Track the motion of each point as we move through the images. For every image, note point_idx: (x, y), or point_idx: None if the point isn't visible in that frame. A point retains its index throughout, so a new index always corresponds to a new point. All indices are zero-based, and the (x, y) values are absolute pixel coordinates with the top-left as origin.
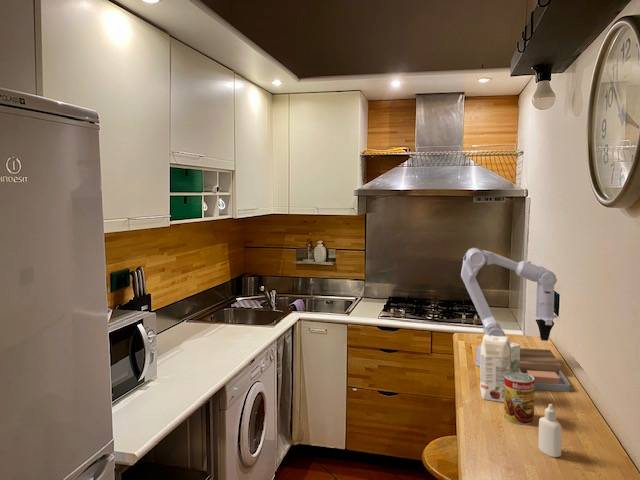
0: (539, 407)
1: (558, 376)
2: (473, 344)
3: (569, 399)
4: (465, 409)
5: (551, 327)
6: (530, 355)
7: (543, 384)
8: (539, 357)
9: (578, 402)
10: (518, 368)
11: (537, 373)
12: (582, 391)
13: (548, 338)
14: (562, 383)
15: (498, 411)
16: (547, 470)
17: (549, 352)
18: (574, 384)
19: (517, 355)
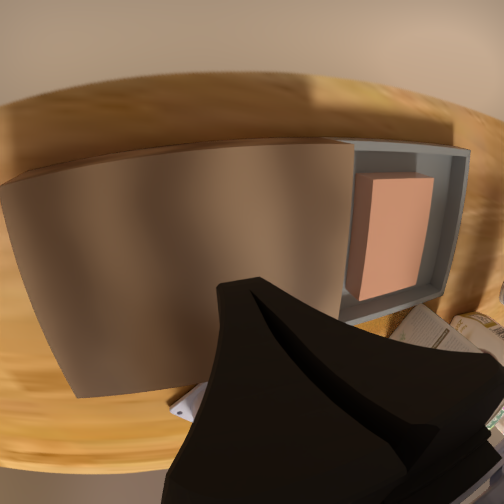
0: (499, 247)
1: None
2: (8, 446)
3: (484, 168)
4: None
5: (425, 355)
6: (188, 313)
7: (455, 239)
8: (217, 262)
9: (494, 150)
10: (462, 335)
11: (392, 260)
12: (446, 104)
13: (271, 283)
14: (410, 157)
15: (492, 314)
16: None
17: (64, 191)
18: (398, 105)
19: None
